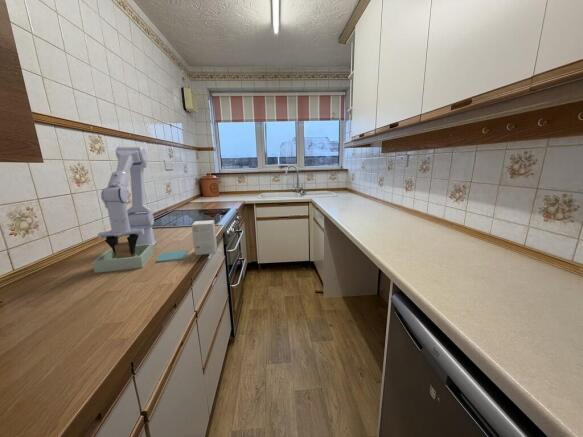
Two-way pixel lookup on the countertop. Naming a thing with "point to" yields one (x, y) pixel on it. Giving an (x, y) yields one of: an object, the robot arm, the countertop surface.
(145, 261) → the crate
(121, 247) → the walnut block
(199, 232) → the small box
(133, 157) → the robot arm
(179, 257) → the teal mat
